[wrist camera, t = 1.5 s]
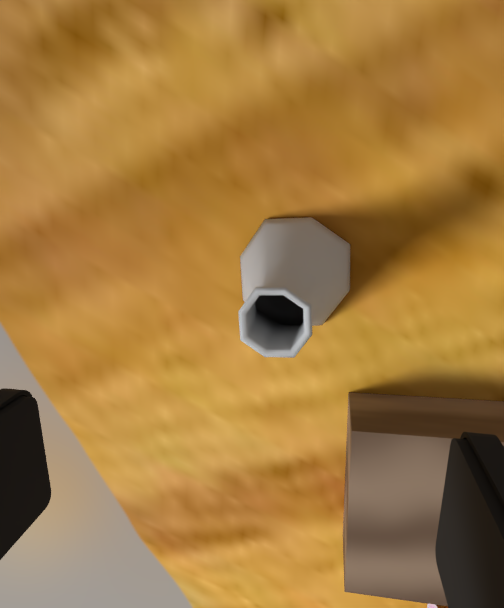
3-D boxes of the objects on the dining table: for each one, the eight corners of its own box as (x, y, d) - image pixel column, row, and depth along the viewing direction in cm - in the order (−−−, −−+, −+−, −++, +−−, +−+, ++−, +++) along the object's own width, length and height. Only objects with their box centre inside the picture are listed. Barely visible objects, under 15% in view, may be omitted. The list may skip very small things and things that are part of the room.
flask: (255, 200, 26) (212, 214, 17) (369, 233, 26) (391, 267, 16) (227, 306, 29) (176, 371, 19) (331, 339, 28) (331, 423, 18)
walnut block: (348, 389, 29) (351, 431, 24) (542, 401, 27) (586, 448, 22) (342, 531, 32) (344, 591, 28) (514, 551, 30) (548, 620, 26)
